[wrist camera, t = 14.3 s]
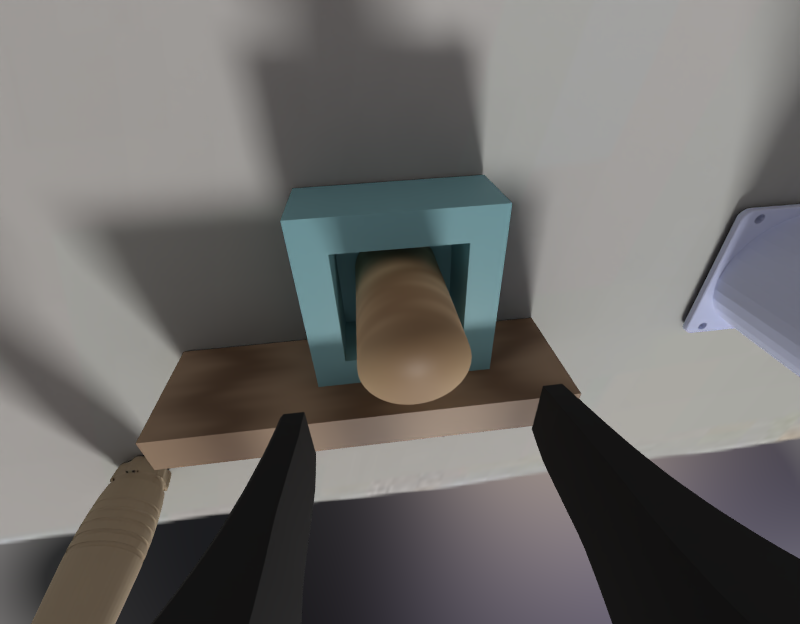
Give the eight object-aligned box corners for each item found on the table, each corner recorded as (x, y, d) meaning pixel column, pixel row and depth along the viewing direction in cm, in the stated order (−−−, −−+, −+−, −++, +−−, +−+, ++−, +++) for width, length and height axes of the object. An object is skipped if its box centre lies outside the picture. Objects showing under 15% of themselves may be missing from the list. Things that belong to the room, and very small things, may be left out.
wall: (531, 317, 23) (581, 393, 18) (526, 343, 24) (571, 421, 19) (183, 351, 21) (135, 443, 17) (196, 377, 23) (154, 470, 18)
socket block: (484, 174, 17) (512, 203, 14) (470, 324, 22) (489, 369, 19) (292, 188, 17) (280, 220, 14) (322, 339, 22) (318, 387, 19)
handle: (82, 449, 25) (-166, 835, 13) (186, 443, 26) (43, 801, 14) (111, 490, 28) (-72, 838, 16) (204, 483, 29) (98, 811, 16)
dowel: (438, 229, 18) (478, 315, 12) (432, 300, 20) (464, 400, 15) (352, 231, 18) (353, 321, 12) (357, 303, 20) (359, 408, 14)
